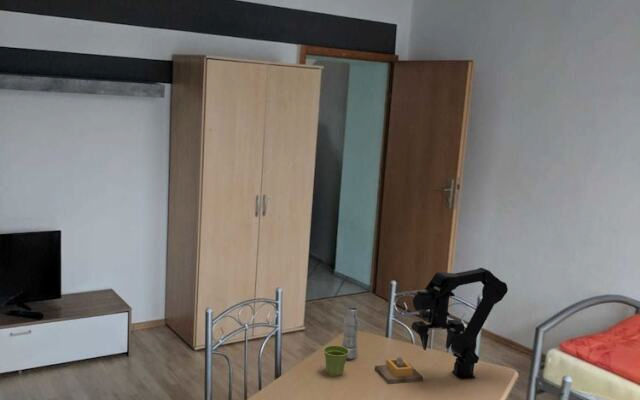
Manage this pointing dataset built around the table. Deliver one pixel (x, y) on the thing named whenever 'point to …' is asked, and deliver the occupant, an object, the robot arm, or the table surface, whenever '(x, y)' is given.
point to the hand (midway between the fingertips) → (435, 349)
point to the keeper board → (392, 379)
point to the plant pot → (335, 359)
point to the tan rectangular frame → (399, 372)
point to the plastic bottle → (351, 332)
